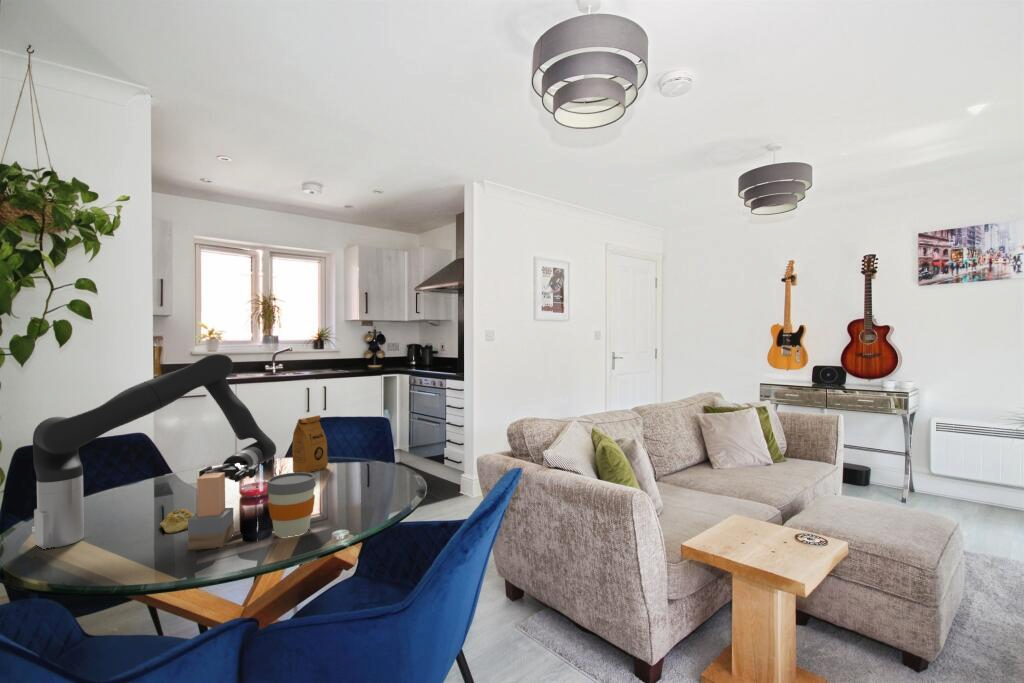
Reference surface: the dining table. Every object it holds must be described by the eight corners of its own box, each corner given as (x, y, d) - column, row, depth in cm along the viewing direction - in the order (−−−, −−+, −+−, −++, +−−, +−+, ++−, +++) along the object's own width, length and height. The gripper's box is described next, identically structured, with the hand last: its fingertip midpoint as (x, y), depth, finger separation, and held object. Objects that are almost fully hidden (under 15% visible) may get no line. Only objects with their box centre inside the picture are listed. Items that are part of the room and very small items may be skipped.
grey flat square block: (221, 533, 131) (221, 517, 131) (188, 535, 129) (187, 519, 129) (233, 522, 139) (233, 507, 139) (201, 524, 137) (201, 509, 137)
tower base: (222, 548, 131) (222, 533, 131) (188, 551, 129) (188, 535, 129) (233, 536, 139) (233, 521, 139) (202, 538, 137) (201, 524, 137)
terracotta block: (219, 515, 132) (218, 477, 132) (198, 517, 131) (197, 478, 131) (225, 509, 137) (224, 472, 137) (204, 510, 136) (204, 473, 136)
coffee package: (331, 468, 208) (330, 415, 208) (306, 476, 197) (305, 419, 197) (314, 465, 213) (314, 413, 213) (289, 473, 202) (288, 418, 202)
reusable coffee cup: (268, 527, 144) (268, 474, 144) (315, 520, 149) (315, 470, 149) (265, 543, 133) (264, 487, 133) (316, 536, 137) (315, 481, 137)
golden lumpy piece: (198, 507, 144) (156, 513, 140) (198, 528, 143) (155, 535, 139) (202, 505, 154) (163, 511, 150) (202, 525, 153) (162, 532, 148)
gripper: (215, 453, 153) (190, 466, 137) (265, 451, 155) (246, 464, 139) (215, 477, 153) (191, 494, 137) (266, 475, 155) (247, 491, 139)
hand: (219, 479), depth 138 cm, fingers open, 8 cm apart
